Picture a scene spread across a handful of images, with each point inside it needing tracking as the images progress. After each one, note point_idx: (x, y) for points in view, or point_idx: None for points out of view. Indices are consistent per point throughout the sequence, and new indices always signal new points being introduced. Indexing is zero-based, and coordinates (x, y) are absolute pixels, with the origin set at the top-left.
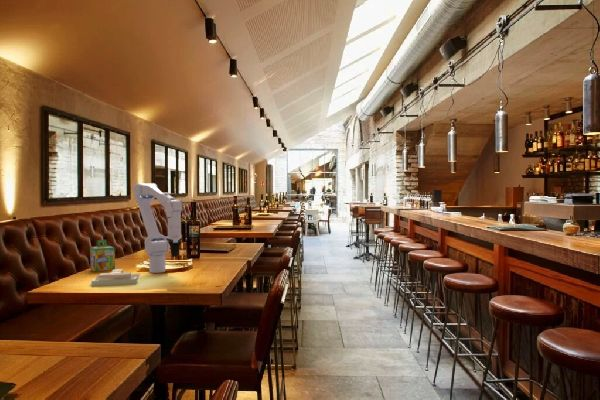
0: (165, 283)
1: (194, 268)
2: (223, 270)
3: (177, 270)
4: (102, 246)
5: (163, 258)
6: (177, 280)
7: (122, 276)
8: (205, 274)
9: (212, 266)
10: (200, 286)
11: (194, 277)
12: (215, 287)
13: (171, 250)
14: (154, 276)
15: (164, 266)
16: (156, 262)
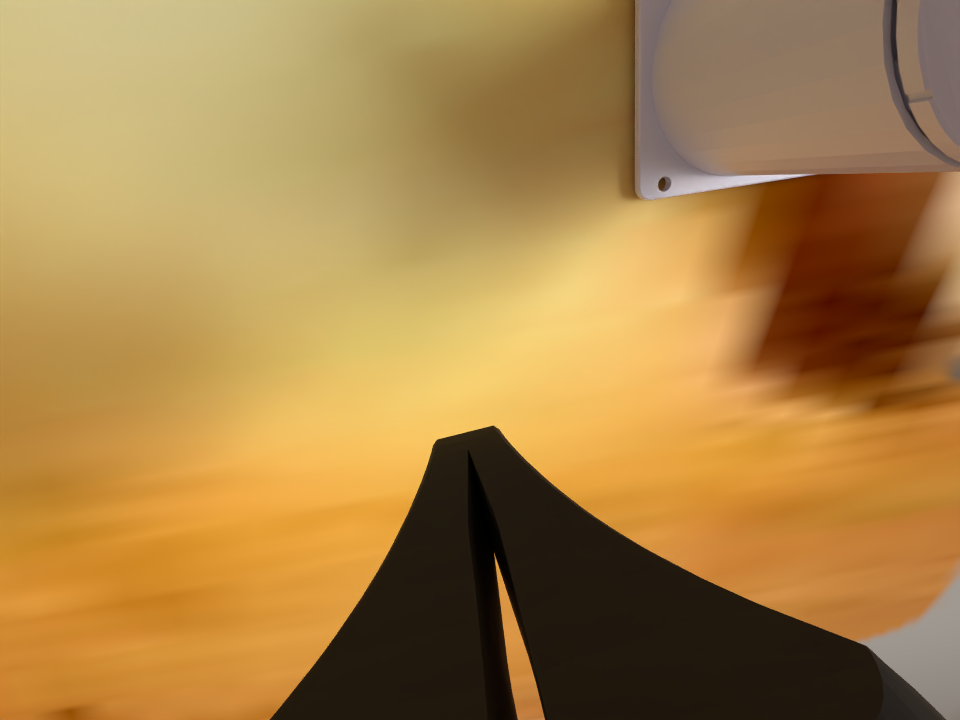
0: (106, 288)
1: (856, 431)
2: None
3: (826, 290)
4: None
5: (849, 151)
6: (289, 386)
7: None
8: None
9: (876, 546)
10: (30, 619)
11: None
12: (19, 712)
13: (394, 546)
14: (545, 59)
15: (754, 169)
16: (763, 17)
